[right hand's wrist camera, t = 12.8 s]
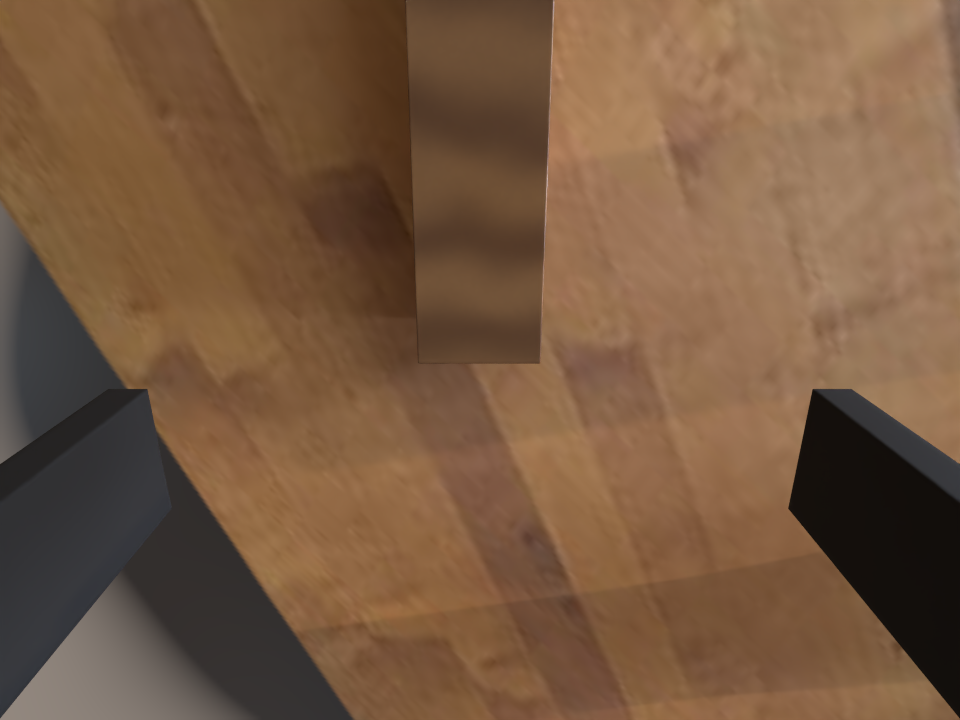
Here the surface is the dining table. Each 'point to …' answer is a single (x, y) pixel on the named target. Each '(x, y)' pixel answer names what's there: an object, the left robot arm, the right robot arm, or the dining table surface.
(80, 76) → the dining table surface
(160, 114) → the dining table surface
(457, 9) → the post
